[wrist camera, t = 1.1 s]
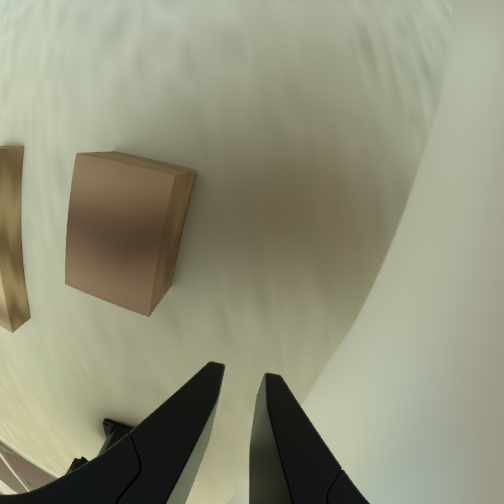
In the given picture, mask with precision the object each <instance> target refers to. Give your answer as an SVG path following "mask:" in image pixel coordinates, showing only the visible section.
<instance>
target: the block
mask: <svg viewBox="0 0 504 504" xmlns="http://www.w3.org/2000/svg"><path fill="white" fill-rule="evenodd" d="M195 175H196V170H192V169H188V168H184V167H180V166H176V165H171V164H167V163H163V162H159V161H154V160H150V159H146V158H141V157H137V156H132V155H127V154H123V153H118V152H90V153H77V154H76V159H75V165H74V171H73V178H72V185H71V193H70V201H69V211H68V222H67V236H66V259H65V284H66V285H69V286H71V287H73V288H76V289H78V290H80V291H83V292H85V293H88V294H90V295H92V296H95V297H97V298H100V299H102V300H105V301H107V302H110V303H113V304H115V305H118V306H120V307H123V308H126V309H128V310H131V311H134V312H137V313H139V314H142V315H145V316H148V317H149V316H150V315H151V313H152V312H153V310H154V309H155V308H156V306H157V305H158V303H159V302H160V301H161V299H162V298H163V296H164V295H165V294H166V292H167V291H168V289H169V288H170V287H171V284H172V278H173V273H174V268H175V263H176V258H177V253H178V248H179V243H180V239H181V234H182V230H183V225H184V221H185V216H186V212H187V208H188V203H189V199H190V195H191V191H192V187H193V183H194V179H195Z"/></svg>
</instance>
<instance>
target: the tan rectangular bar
mask: <svg viewBox="0 0 504 504" xmlns="http://www.w3.org/2000/svg"><path fill="white" fill-rule="evenodd" d="M23 150H24V147H13V146H1V147H0V326H2V327H3V328H5V329H7V330H8V331H10V332H12V333H13V332H14V331H16V330H17V329H18V328H19V327H20V326H21V325H23V324H24V323H25V322H26V321H27V320H28V319H30V313H29V307H28V301H27V295H26V288H25V280H24V271H23V261H22V248H21V226H20V194H21V173H22V160H23Z"/></svg>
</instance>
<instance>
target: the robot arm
mask: <svg viewBox="0 0 504 504" xmlns="http://www.w3.org/2000/svg"><path fill="white" fill-rule="evenodd" d="M224 371H225V365H224V364H221V363H217V362H213V361H211V362H209V363H207V364H206V365H205V366H204V367H203V368H202V369H201V370H200V371H199V372H198V373H197V374H195V375H194V376H193V377H192V378H191V379H190V380H189V381H188V382H187V383H185V384H184V385H183V386H182V387H181V388H180V389H179V390H178V391H177V392H175V393H174V394H173V395H172V396H171V397H170V398H169V399H167V400H166V401H165V402H164V403H163V404H162V405H161V406H159V407H158V408H157V409H156V410H155V411H154V412H153V413H151V414H150V415H149V416H148V417H147V418H146V419H144V420H143V421H142V422H141V423H140V424H138V425H137V426H136V427H135V428H134V429H132V428H129V427H126V426H123V425H121V424H118V423H115V422H113V421H110V420H108V419H104V420H103V426H104V430H105V434H106V440H105V442H104V444H103V446H102V448H101V450H100V452H99V454H98V456H97V457H96V458H94V459H92V460H91V461H88V460H86V458H84V457H81V459H77V458H75V459H74V461H73V462H72V464H71V466H70V468H69V470H68V471H67V473H66V474H65V475H64V476H62V477H60V478H58V479H56V480H55V481H52V482H51V483H48V484H47V485H44V486H42V487H40V488H38V489H36V490H33V491H30V492H26V493H21V494H13V495H0V504H185V503H186V500H187V497H188V495H189V492H190V490H191V487H192V485H193V482H194V479H195V477H196V474H197V472H198V469H199V466H200V464H201V461H202V458H203V456H204V453H205V450H206V448H207V445H208V442H209V439H210V435H211V431H212V426H213V422H214V417H215V413H216V408H217V404H218V399H219V395H220V390H221V385H222V380H223V375H224ZM341 469H342V467H341V466H340V464H339V463H338V461H337V460H336V458H335V457H334V456H333V454H332V453H331V451H330V450H329V448H328V447H327V445H326V444H325V442H324V441H323V439H322V438H321V436H320V435H319V434H318V432H317V430H316V429H315V427H314V426H313V424H312V423H311V421H310V420H309V418H308V417H307V415H306V414H305V412H304V411H303V409H302V408H301V406H300V405H299V403H298V401H297V400H296V398H295V397H294V395H293V394H292V392H291V391H290V389H289V387H288V386H287V384H286V383H285V381H284V380H283V378H282V377H281V376H280V375H278V374H272V373H265V374H264V376H263V379H262V382H261V385H260V388H259V391H258V394H257V399H256V405H255V412H254V419H253V426H252V433H251V440H250V454H249V504H370V503H369V502H368V501H367V500H366V499H365V498H364V497H363V495H362V494H361V493H360V492H359V490H358V489H357V488H356V486H355V485H354V484H353V482H352V481H351V480H350V478H349V477H348V475H347V474H346V473H345V471H344V470H341Z"/></svg>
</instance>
